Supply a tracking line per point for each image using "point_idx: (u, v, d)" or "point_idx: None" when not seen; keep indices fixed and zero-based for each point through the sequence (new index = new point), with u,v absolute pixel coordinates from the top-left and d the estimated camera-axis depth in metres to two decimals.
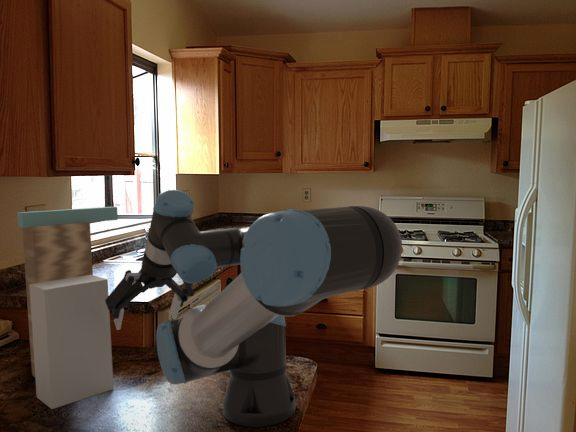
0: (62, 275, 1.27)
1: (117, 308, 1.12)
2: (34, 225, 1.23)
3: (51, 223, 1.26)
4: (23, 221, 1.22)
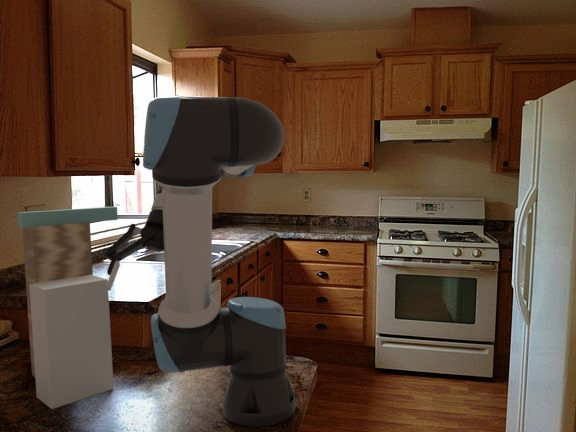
0: (62, 275, 1.27)
1: (113, 256, 1.18)
2: (34, 225, 1.23)
3: (51, 223, 1.26)
4: (23, 221, 1.22)
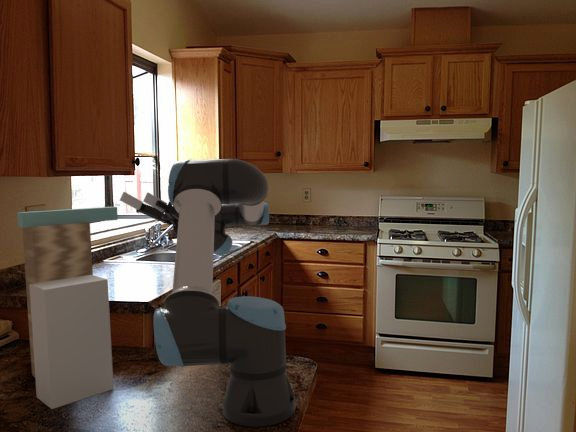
0: (62, 275, 1.27)
1: None
2: (34, 225, 1.23)
3: (51, 223, 1.26)
4: (23, 221, 1.22)
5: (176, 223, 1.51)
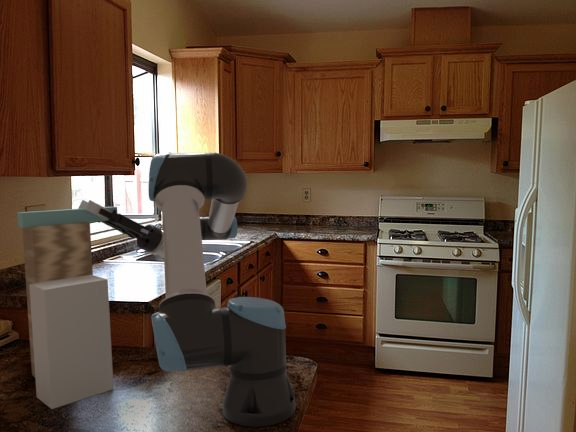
0: (62, 275, 1.27)
1: None
2: (34, 225, 1.23)
3: (51, 223, 1.26)
4: (23, 221, 1.22)
5: (137, 236, 1.43)
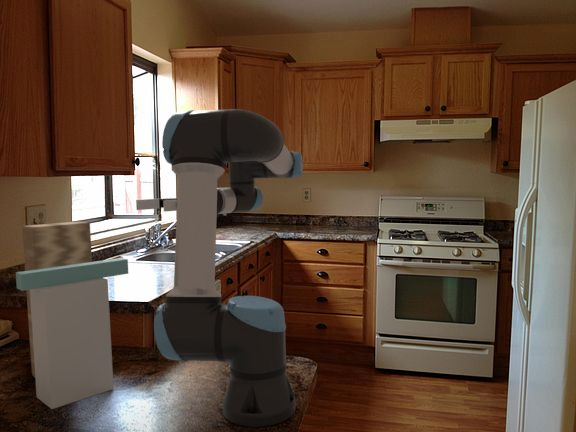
0: None
1: None
2: (35, 287, 1.09)
3: (54, 283, 1.12)
4: (22, 283, 1.07)
5: None
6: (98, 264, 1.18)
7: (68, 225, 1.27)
